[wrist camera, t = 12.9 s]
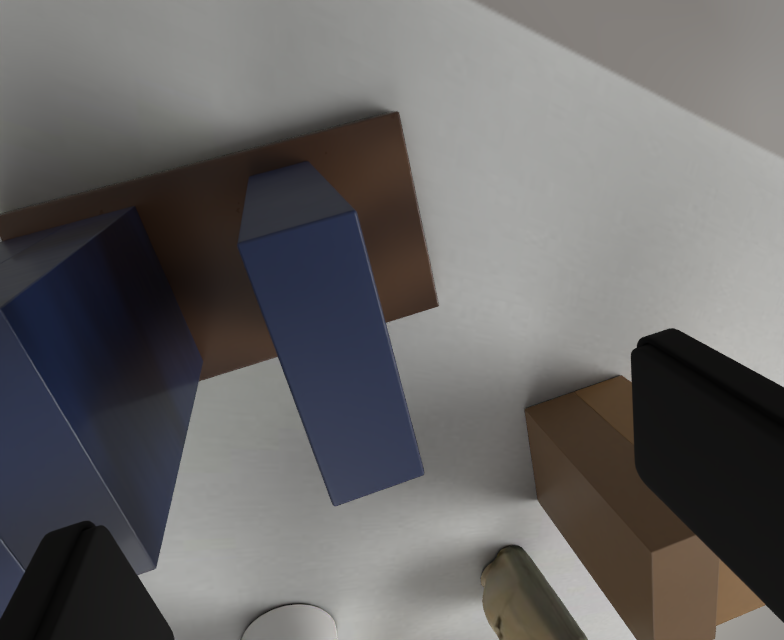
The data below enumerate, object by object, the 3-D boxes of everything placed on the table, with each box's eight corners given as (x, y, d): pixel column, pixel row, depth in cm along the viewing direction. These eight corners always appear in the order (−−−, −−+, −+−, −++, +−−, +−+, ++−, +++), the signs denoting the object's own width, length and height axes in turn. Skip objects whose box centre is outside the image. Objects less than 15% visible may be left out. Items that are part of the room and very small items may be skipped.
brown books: (523, 408, 33) (651, 552, 22) (621, 374, 34) (790, 497, 23) (537, 500, 37) (654, 665, 26) (626, 467, 37) (775, 613, 27)
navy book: (248, 176, 23) (235, 244, 11) (308, 160, 24) (356, 209, 12) (301, 332, 27) (333, 508, 15) (353, 316, 27) (425, 475, 15)
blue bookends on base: (1, 213, 23) (-339, 347, 10) (393, 110, 25) (535, 110, 12) (105, 401, 27) (-38, 669, 14) (432, 299, 29) (570, 449, 16)
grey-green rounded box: (548, 578, 40) (612, 682, 33) (490, 613, 40) (541, 725, 33) (523, 534, 37) (586, 635, 30) (461, 570, 37) (509, 681, 30)
